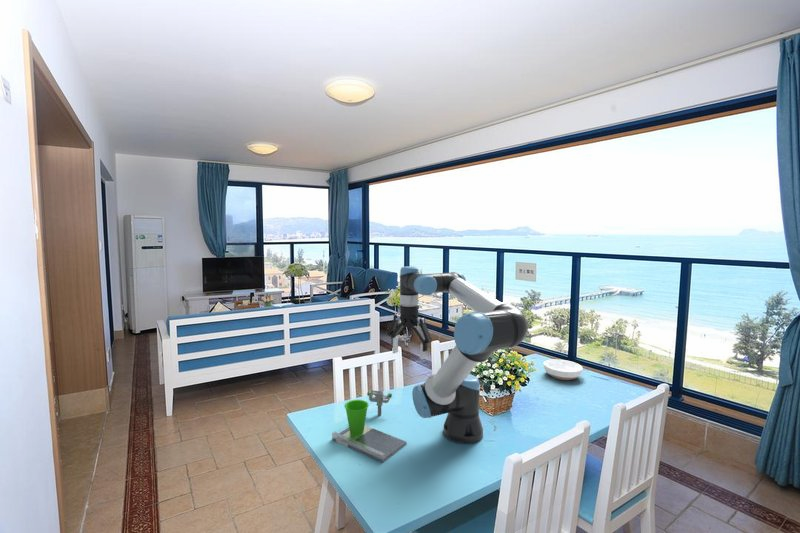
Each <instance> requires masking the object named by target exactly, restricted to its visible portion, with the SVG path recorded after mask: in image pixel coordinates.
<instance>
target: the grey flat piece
mask: <svg viewBox="0 0 800 533" xmlns="http://www.w3.org/2000/svg"><path fill="white" fill-rule="evenodd" d="M331 434H332V435H331V440H332V441H334V442H336V443H338V444H341V445H343V446H345V447H347V448H349V449H352V450H354V451H356V452H358V453H360V454H362V455H365V456H367V457H369V458H372V459H374V460H375V461H377V462H380V463H381V464H382V463H384V462H385V461H387V460H388V459H389V458H391V457H392V456H394V455H395V454H397V452H399V451H400V450H401V449H403V448H404V447H405V446H407V441H405V440H403V439H401V438H397V437H395V436H393V435H390V434H388V433H385V432H384V431H380V430H378V429H375V428H372V427H370V426H367V425H366V424H365V426H364V432H363V434H362V435H359V436H353V435H351V433H350V430H349V427H348V428H346V429H344V430H342V431H340V432H337V431H334V432H332V433H331Z"/></svg>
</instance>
